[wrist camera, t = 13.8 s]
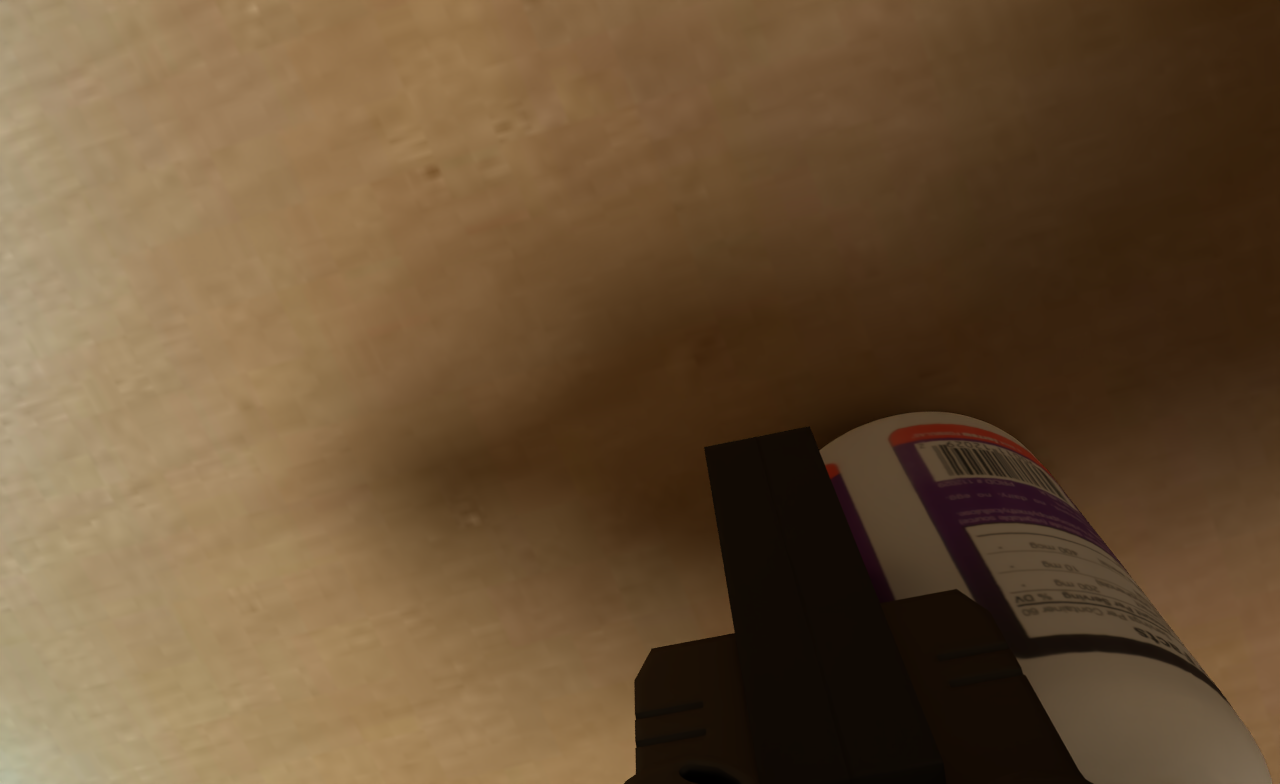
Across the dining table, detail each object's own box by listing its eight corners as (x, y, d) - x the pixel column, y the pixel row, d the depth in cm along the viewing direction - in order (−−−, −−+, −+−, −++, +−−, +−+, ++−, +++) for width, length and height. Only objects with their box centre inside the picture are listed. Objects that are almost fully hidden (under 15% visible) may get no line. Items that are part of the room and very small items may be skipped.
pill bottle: (839, 689, 21) (1019, 1268, 12) (706, 495, 19) (811, 1034, 10) (1094, 567, 20) (1486, 1106, 11) (985, 346, 18) (1366, 808, 9)
